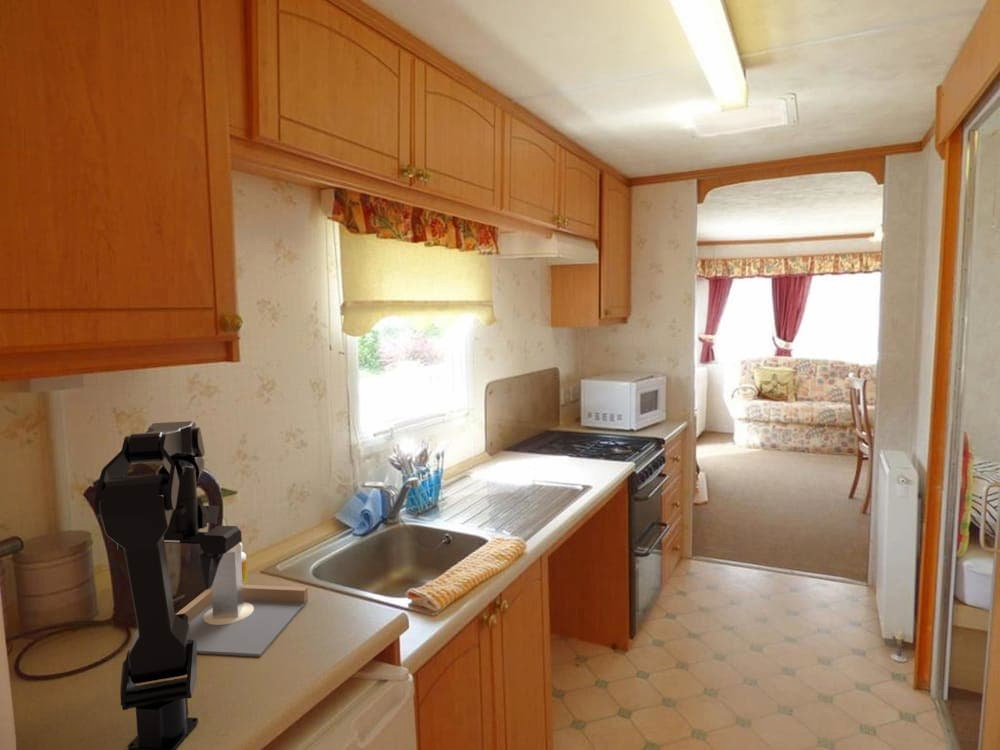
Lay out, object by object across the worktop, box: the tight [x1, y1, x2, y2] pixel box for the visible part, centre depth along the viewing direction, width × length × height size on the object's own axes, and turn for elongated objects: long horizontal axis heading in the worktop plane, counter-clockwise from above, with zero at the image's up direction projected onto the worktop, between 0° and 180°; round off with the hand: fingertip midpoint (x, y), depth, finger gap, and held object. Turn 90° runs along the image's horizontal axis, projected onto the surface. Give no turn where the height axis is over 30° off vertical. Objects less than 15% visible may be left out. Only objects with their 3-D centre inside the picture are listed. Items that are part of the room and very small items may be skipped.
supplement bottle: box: [240, 541, 249, 585], centre depth 130 cm, size 5×5×10 cm
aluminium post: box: [211, 542, 244, 619], centre depth 118 cm, size 4×4×13 cm
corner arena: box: [175, 584, 309, 658], centre depth 115 cm, size 20×20×3 cm
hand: (183, 586), depth 103 cm, fingers open, 9 cm apart
